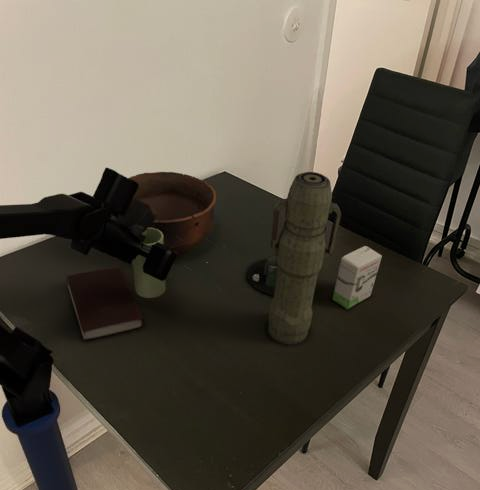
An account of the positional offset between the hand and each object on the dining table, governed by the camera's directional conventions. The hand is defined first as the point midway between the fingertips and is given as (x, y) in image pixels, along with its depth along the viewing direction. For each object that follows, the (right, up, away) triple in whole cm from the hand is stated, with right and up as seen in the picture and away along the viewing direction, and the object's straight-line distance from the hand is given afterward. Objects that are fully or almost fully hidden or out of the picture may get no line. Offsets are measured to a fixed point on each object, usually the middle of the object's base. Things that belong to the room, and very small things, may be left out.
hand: (153, 260), depth 104 cm
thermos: (+28, -15, +5) cm, 32 cm away
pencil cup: (-1, -6, +3) cm, 7 cm away
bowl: (-1, +6, +26) cm, 27 cm away
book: (-12, -10, +7) cm, 17 cm away
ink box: (+44, -7, +15) cm, 47 cm away
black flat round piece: (+27, -2, +19) cm, 33 cm away
